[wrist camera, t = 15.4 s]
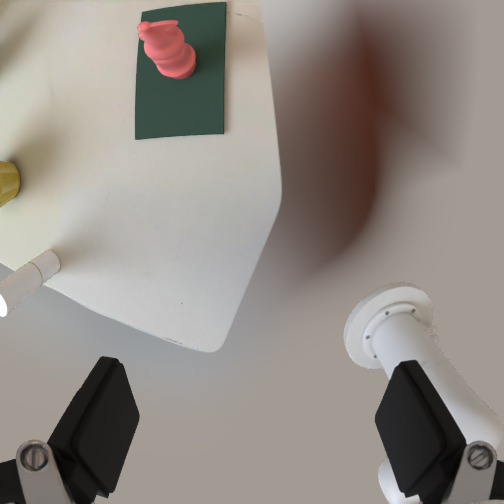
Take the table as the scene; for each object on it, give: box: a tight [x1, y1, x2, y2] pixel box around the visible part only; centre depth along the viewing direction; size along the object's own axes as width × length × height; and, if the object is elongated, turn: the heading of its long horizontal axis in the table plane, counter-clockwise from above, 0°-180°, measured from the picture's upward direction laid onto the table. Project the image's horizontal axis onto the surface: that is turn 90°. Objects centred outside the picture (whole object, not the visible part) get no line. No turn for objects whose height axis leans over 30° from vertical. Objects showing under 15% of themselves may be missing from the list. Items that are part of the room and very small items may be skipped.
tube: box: [0, 250, 60, 317], centre depth 35 cm, size 4×4×15 cm
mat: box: [135, 2, 226, 140], centre depth 32 cm, size 12×20×1 cm, turn 0°
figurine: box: [137, 20, 196, 79], centre depth 25 cm, size 5×5×15 cm
